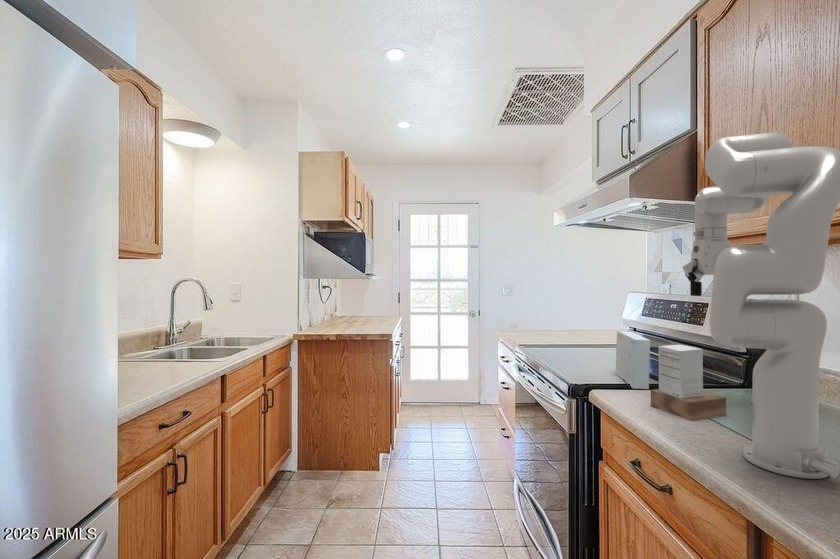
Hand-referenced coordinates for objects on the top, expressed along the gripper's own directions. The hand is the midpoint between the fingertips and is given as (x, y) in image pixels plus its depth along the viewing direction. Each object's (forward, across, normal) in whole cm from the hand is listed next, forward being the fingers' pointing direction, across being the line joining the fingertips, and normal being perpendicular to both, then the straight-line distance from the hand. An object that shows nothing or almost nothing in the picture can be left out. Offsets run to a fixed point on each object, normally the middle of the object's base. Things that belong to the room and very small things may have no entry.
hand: (710, 295), depth 118 cm
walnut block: (+31, -13, -6) cm, 34 cm away
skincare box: (+31, -7, +24) cm, 40 cm away
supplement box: (+26, -15, -6) cm, 31 cm away
